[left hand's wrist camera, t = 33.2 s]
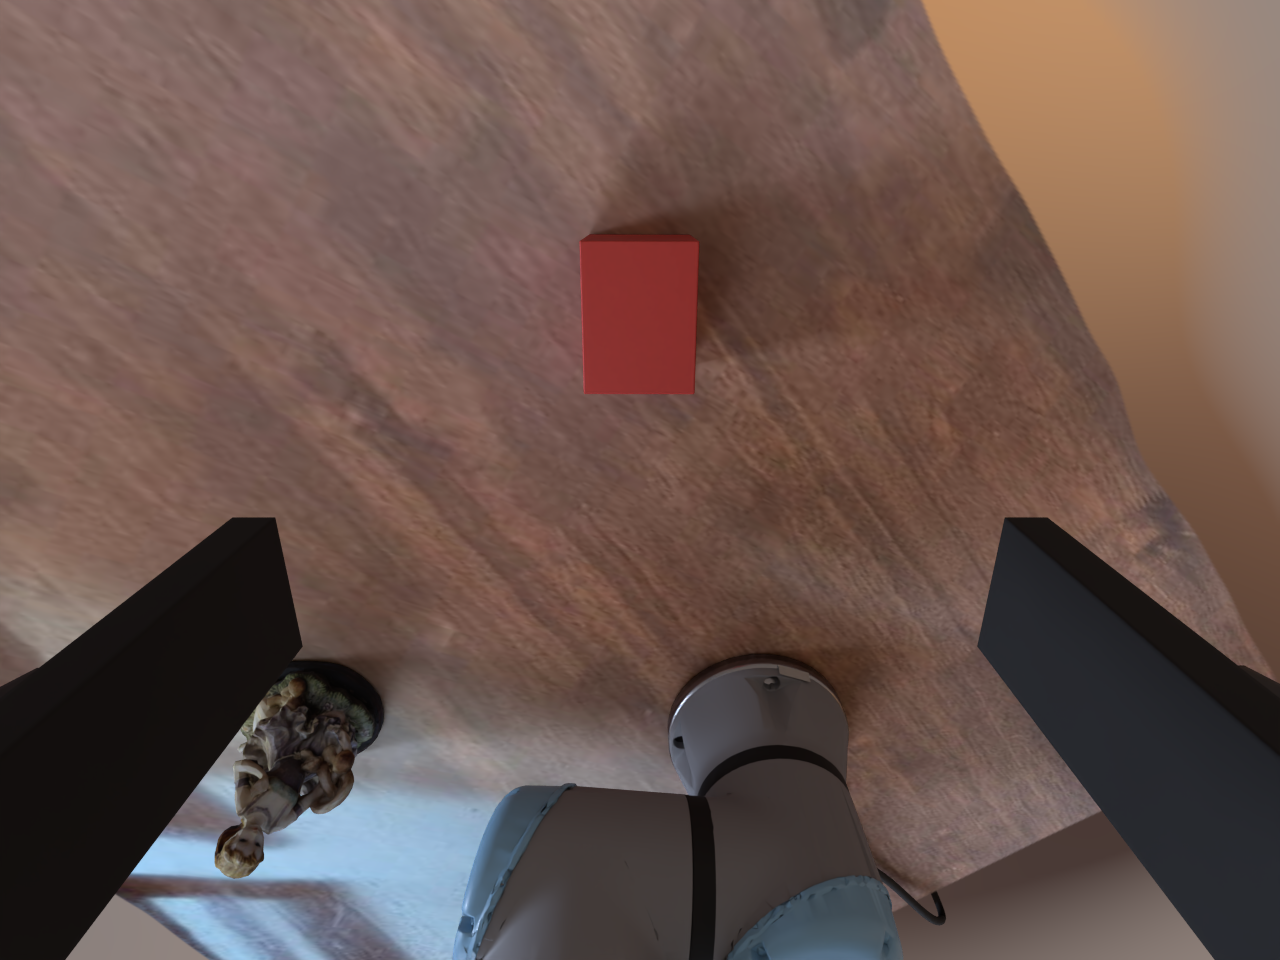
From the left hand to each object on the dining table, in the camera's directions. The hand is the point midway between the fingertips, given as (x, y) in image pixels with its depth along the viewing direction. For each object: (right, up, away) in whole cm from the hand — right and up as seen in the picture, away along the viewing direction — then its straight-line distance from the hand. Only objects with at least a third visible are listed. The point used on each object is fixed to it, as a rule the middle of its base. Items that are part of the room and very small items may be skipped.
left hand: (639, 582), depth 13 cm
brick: (0, +14, +35) cm, 38 cm away
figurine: (-28, -18, +48) cm, 58 cm away
